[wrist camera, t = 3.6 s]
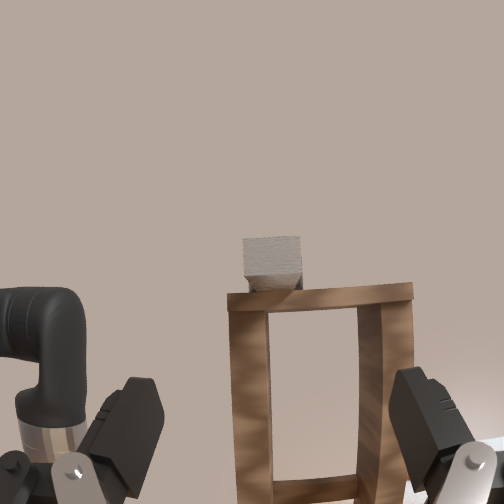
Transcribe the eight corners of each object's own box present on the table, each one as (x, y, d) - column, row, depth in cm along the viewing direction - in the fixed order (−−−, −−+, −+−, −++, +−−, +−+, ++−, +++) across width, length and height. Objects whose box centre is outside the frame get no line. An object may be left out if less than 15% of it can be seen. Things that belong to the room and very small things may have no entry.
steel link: (219, 277, 17) (218, 204, 18) (251, 300, 36) (250, 264, 37) (326, 271, 17) (320, 199, 17) (301, 297, 36) (299, 262, 37)
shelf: (243, 578, 20) (227, 293, 27) (251, 533, 30) (241, 300, 37) (390, 564, 19) (412, 282, 26) (371, 523, 29) (379, 292, 35)
